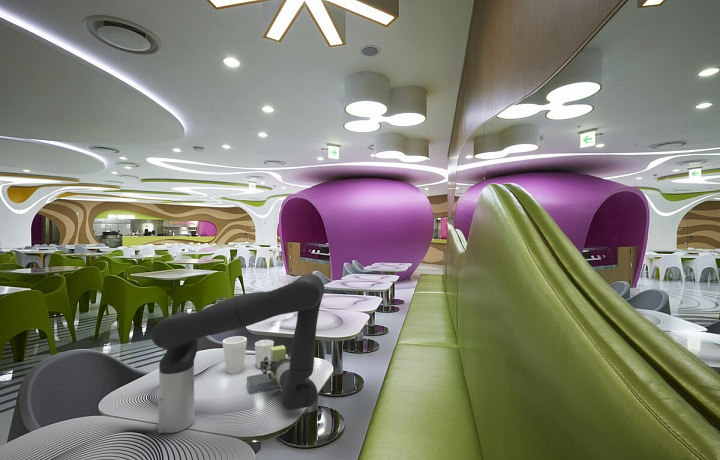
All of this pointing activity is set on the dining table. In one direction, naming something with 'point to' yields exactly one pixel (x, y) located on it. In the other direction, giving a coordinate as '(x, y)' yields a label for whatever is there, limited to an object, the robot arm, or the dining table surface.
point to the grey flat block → (261, 382)
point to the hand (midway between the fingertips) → (277, 357)
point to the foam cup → (234, 353)
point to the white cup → (263, 350)
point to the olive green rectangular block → (277, 355)
